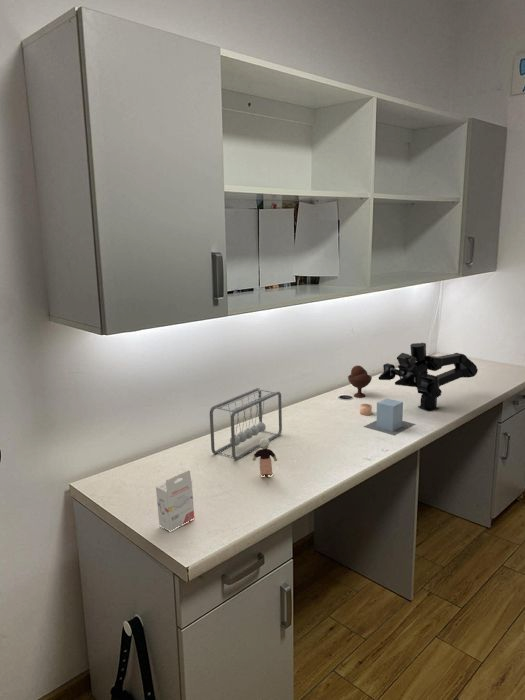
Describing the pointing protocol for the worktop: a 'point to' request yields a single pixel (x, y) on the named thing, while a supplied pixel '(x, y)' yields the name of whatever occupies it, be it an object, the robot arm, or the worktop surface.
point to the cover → (389, 414)
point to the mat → (373, 426)
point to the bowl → (365, 409)
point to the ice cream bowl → (359, 379)
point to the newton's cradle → (253, 429)
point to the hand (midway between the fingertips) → (386, 381)
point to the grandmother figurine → (265, 457)
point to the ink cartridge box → (175, 501)
